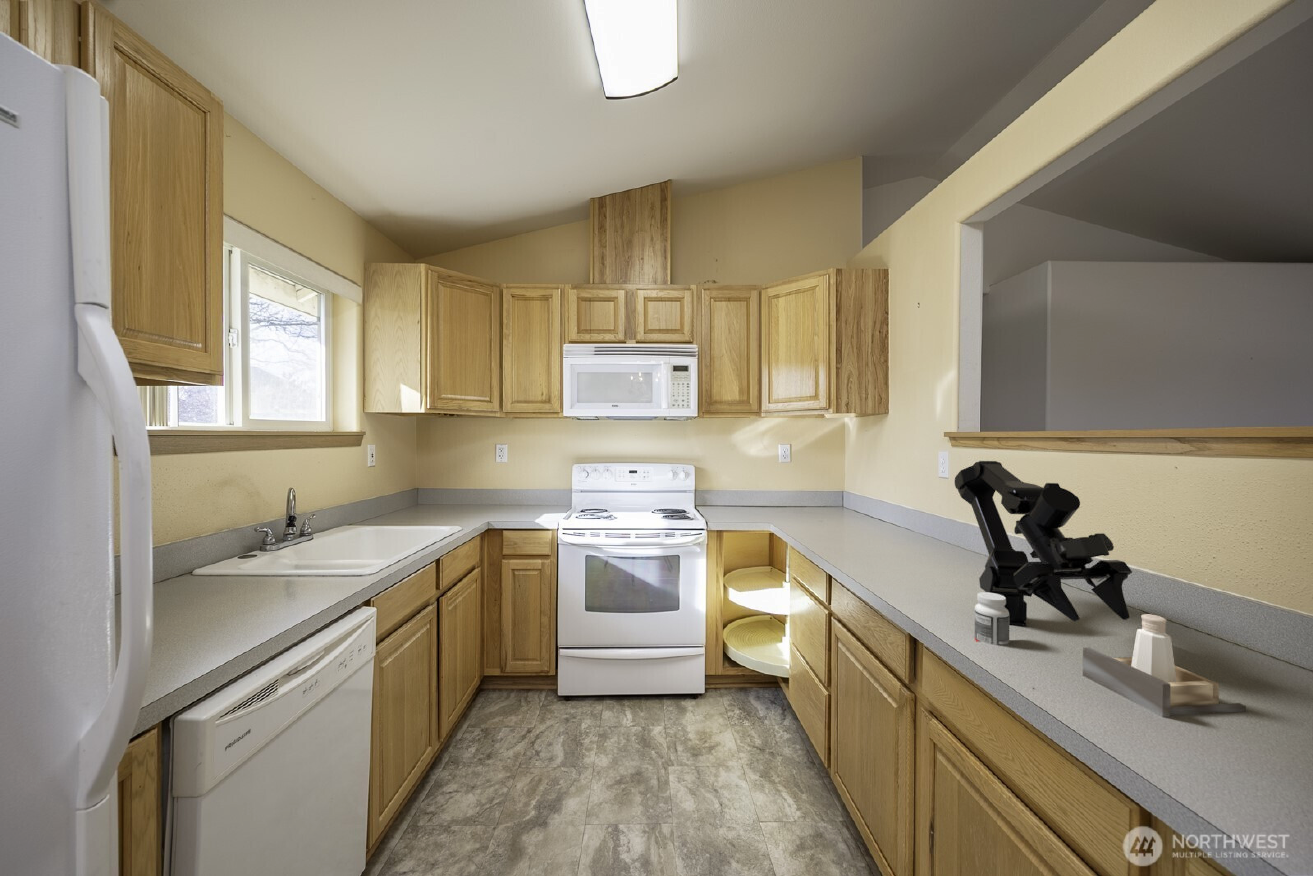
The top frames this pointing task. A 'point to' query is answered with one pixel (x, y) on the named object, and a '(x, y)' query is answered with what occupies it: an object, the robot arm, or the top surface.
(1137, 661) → the pepper shaker
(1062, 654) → the top surface
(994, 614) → the pill bottle
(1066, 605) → the robot arm
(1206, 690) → the light wooden tray
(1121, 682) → the open wooden tray
